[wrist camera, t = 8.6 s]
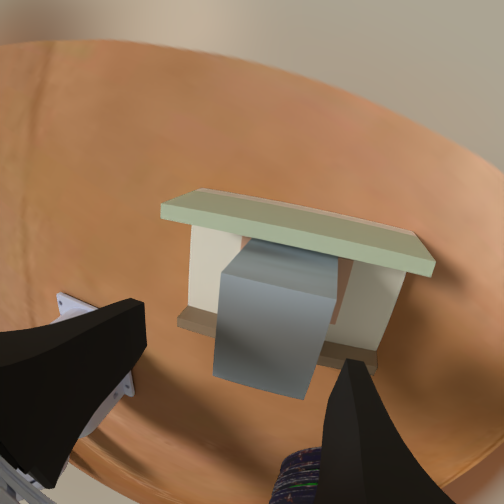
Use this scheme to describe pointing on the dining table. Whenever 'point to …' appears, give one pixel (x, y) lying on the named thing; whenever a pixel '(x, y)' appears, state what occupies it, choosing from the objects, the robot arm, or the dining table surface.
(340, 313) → the open-front display tray
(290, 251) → the slate cabinet block
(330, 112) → the dining table surface
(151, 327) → the dining table surface
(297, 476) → the storage jar
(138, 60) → the dining table surface
